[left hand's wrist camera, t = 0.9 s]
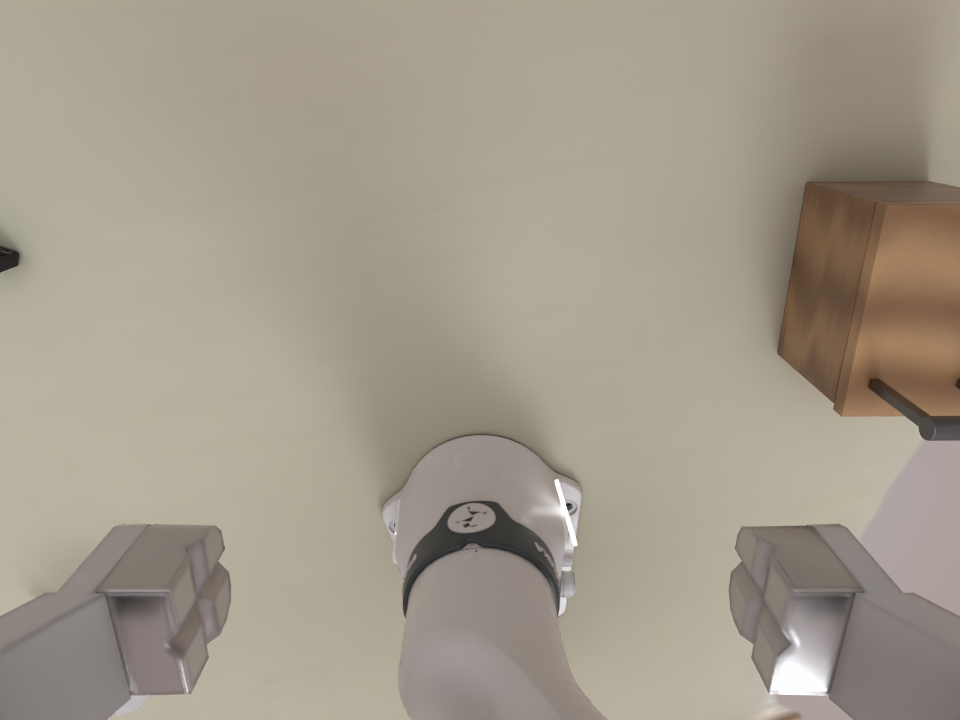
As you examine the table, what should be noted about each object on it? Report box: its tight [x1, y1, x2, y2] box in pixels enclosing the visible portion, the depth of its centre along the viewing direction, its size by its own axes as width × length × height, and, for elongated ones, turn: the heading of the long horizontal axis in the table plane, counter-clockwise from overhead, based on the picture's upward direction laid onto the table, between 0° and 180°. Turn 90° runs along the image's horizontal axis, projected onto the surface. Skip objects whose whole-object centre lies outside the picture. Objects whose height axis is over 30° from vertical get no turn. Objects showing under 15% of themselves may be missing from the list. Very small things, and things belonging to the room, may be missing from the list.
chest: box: [778, 181, 960, 403], centre depth 50 cm, size 14×10×10 cm, turn 0°
